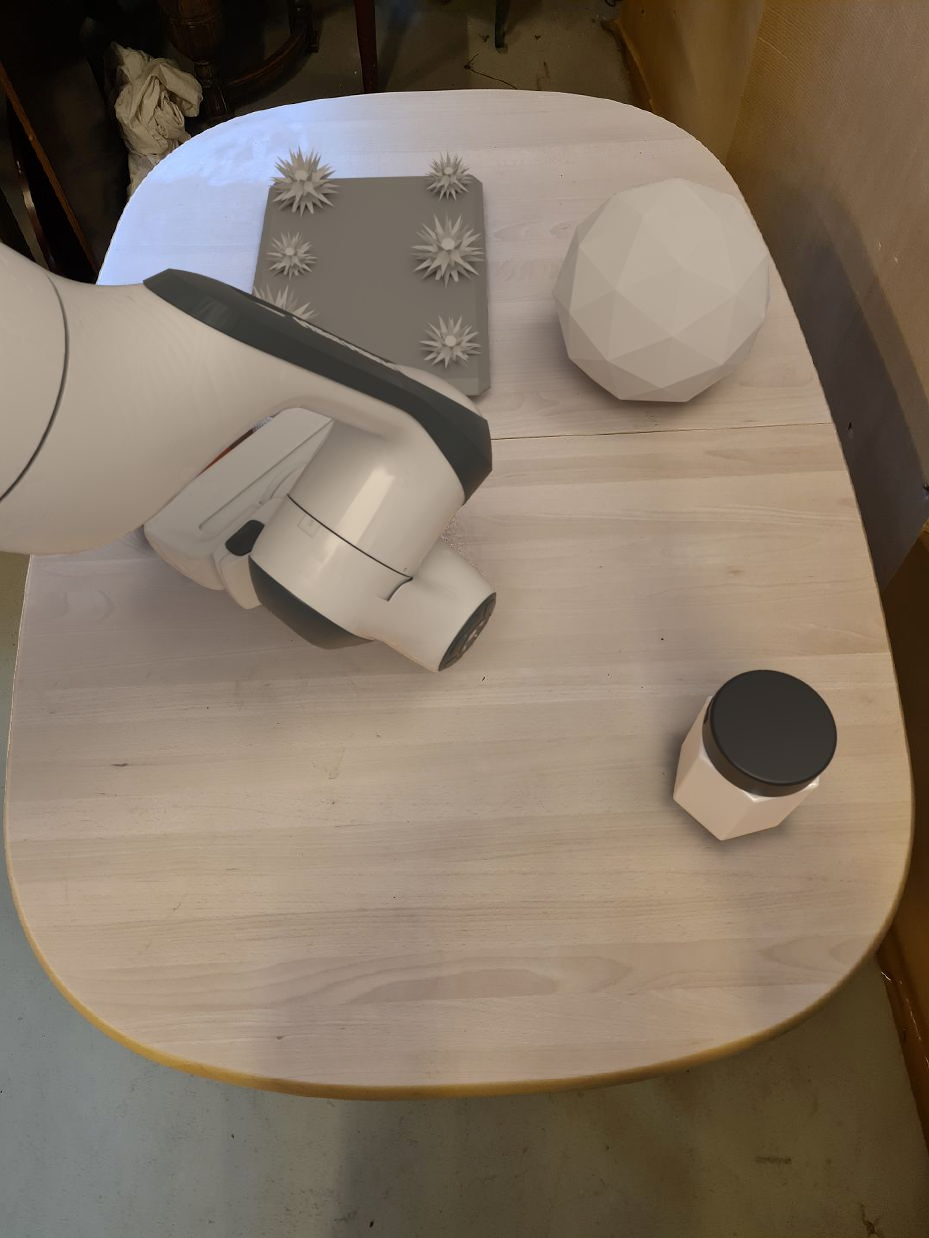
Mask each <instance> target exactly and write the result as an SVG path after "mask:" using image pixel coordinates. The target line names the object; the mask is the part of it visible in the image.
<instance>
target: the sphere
mask: <svg viewBox="0 0 929 1238" xmlns="http://www.w3.org/2000/svg"><path fill="white" fill-rule="evenodd" d="M769 260H770V259H769V251H768V249H767V247H766V245H765V244H764V242H763V240H762V239H761V237H760V235H759V233H758V232H757V230H756V228H755V226H754V225H753V222H752V220H751V219H750V217H749V215H748V214H747V212H746V210H745V208H744V206H743V205H742V203H741V202H740V200H739V198H738V197H736V196H734V195H731V194H728V193H725V192H722V191H720V190H717V189H714V188H711V187H709V186H705V185H703V184H701V183H700V184H699V183H697V182H693V181H691V180H688V179H685V178H683V177H680V176H677V177H672V178H666V179H661V180H657V181H653V182H648V183H644V184H638V185H633V186H632V187H631V186H630V187H629V188H626V189H624V190H622V191H619V192H616V193H614V194H613V195H612V196H611V197H610V198H608V199H607V200H606V201H605V202H603V203H602V204H601V205H600V206H599V207H597V209H595V210H594V211H593V212H592V213H591V214H589V216H587V217H586V218H585V219H584V220H583V221H581V222H580V223H579V224H577V226H576V228H575V230H574V233H573V236H572V238H571V241H570V243H569V246H568V249H567V252H566V254H565V257H564V260H563V262H562V265H561V267H560V269H559V273H558V276H557V279H556V281H555V284H554V287H553V289H552V291H551V292H552V297H553V301H554V305H555V308H556V312H557V317H558V320H559V324H560V328H561V332H562V337H563V340H564V345H565V348H566V352H567V357H568V359H569V360H571V361H572V363H574V364H575V365H576V366H577V367H578V368H579V369H580V370H582V372H584V373H585V374H586V375H587V376H588V377H589V378H590V379H591V380H593V381H594V382H595V383H596V384H598V385H599V386H600V387H602V388H603V389H605V390H606V391H607V392H608V393H610V394H611V395H613V396H614V397H616V399H618V400H620V401H622V400H625V401H643V402H644V401H647V402H670V403H671V402H673V403H674V402H675V403H676V402H677V403H687V402H689V401H690V400H691V399H693V398H694V397H696V396H698V395H699V394H701V393H702V392H703V391H706V389H709V388H710V387H711V386H713V385H715V384H716V383H717V382H719V381H720V380H721V379H723V378H725V377H726V376H728V375H730V374H731V373H732V372H734V371H736V370H738V369H739V368H740V367H742V366H743V365H744V364H745V362H746V360H747V358H748V356H749V353H750V351H751V349H752V347H753V345H754V343H755V341H756V339H757V336H758V334H759V332H760V331H761V328H762V326H763V325H764V322H765V320H766V317H767V312H768V309H769V305H770V301H771V286H770V285H771V284H770V262H769Z"/></svg>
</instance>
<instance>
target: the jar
mask: <svg viewBox="0 0 929 1238" xmlns="http://www.w3.org/2000/svg"><path fill="white" fill-rule="evenodd" d="M837 743H838V730H837V724H836V721H835V717H834V715H833V712H832V711H831V709H830V707H829V705H828V704H827V703H826V701H825V700H824V698H823V697H822V696H821V695H820V694H819V693H818V692H817V690H816V689H814V688H813V687H812V686H810V685H809V684H808V683H807V682H805V681H803V680H802V679H801V678H798V677H796V676H794V675H792V674H789V673H786V672H783V671H779V670H773V669H752V670H748V671H745V672H741V673H739V674H736V675H734V676H732V677H731V678H729V679H728V680H727V681H726V682H725V683H723V684H722V685H721V686H720V688H719V689H717V691H716V692H715V694H714V695H710V696H708V697H707V699H705V702H704V704H703V706H702V708H701V709H700V711H699V713H698V715H697V717H696V718H695V721H694V722H693V724H692V726H691V727H690V729H689V731H688V733H687V735H686V736H685V738H684V740H683V742H682V744H681V747H680V753H679V759H678V764H677V769H676V776H675V781H674V782H675V783H674V788H673V794H672V799H673V800H674V802H676V804H678V805H679V806H680V807H681V808H682V809H684V811H686V813H688V814H689V815H690V816H691V817H692V818H694V819H695V820H696V821H697V822H698V823H699V824H701V826H702V827H704V828H705V829H706V830H707V831H708V832H710V833H711V834H712V835H713V836H714V837H715V838H716V839H717V840H719V841H721V842H722V841H726V840H730V839H733V838H737V837H742V836H744V835H748V834H753V833H756V832H760V831H763V830H768V829H772V828H775V827H778V826H779V825H780V823H782V822H783V821H784V820H785V819H786V818H787V817H788V816H789V815H790V814H791V813H792V812H794V810H795V809H796V808H797V807H798V806H799V805H801V804H802V803H803V802H804V801H805V800H806V798H808V797H809V796H810V795H811V794H812V793H813V792H814V791H815V790H816V789H817V788H818V787H819V785H820V777H821V774H822V773H824V771H825V770H826V769H827V768H828V767H829V765H830V764H831V762H832V760H833V758H834V756H835V753H836V750H837V745H838V744H837Z"/></svg>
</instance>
